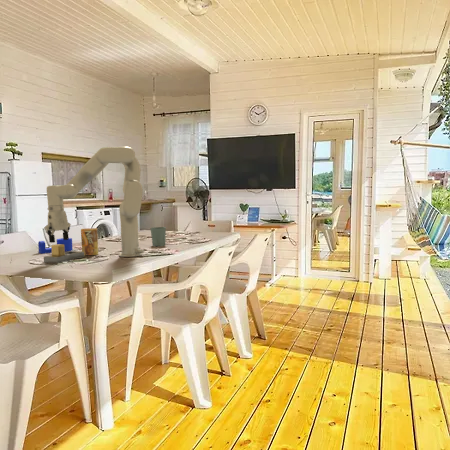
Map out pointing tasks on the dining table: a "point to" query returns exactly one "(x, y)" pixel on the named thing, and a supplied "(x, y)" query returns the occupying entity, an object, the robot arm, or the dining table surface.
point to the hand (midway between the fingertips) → (59, 241)
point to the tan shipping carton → (58, 250)
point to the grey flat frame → (64, 257)
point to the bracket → (60, 241)
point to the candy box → (89, 241)
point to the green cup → (158, 236)
